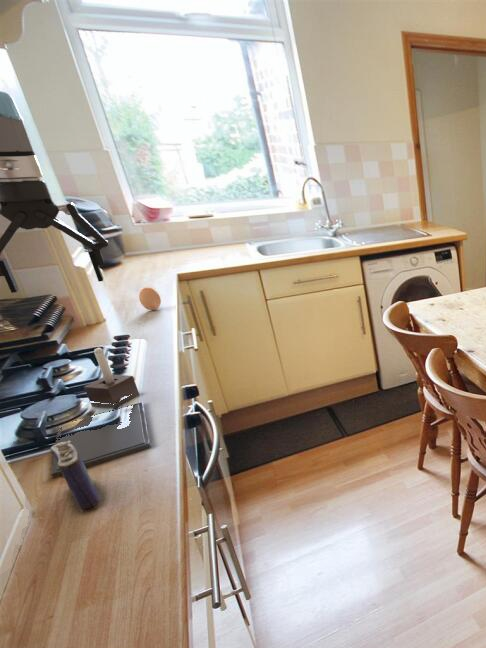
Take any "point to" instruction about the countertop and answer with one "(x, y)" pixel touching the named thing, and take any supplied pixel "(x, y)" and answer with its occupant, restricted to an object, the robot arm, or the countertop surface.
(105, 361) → the stylus
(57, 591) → the countertop surface
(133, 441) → the plate
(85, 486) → the flask
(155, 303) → the egg
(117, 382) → the holder
